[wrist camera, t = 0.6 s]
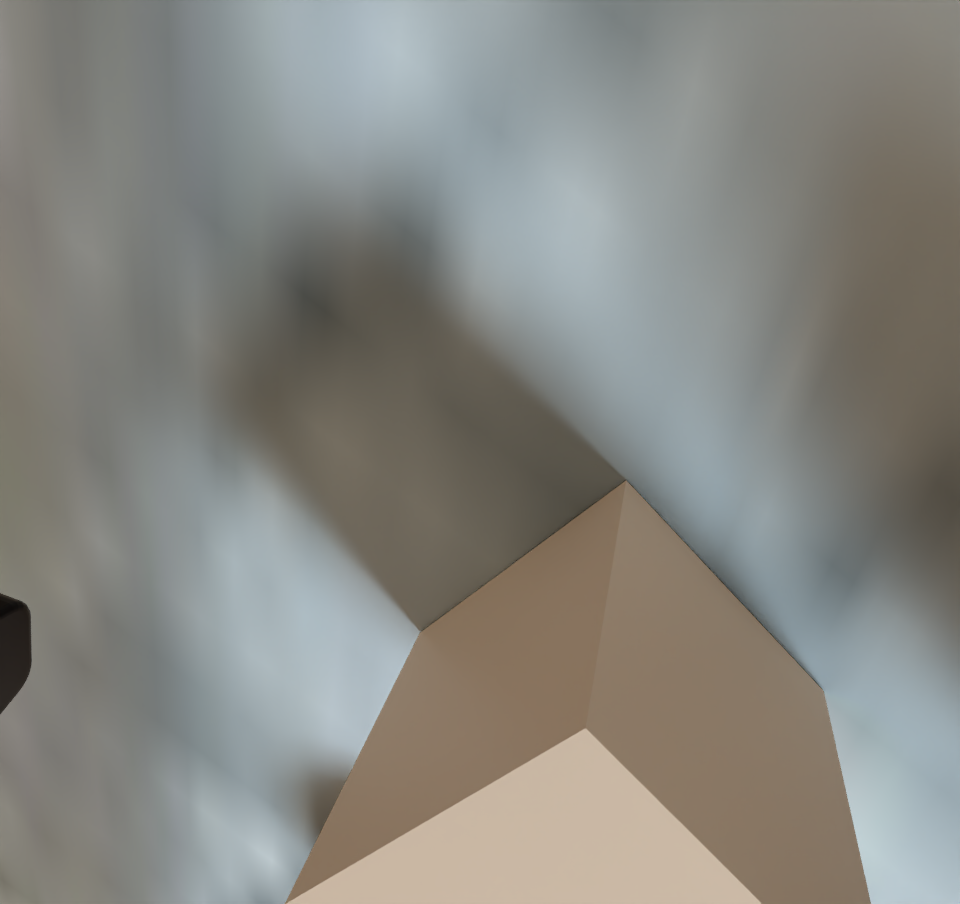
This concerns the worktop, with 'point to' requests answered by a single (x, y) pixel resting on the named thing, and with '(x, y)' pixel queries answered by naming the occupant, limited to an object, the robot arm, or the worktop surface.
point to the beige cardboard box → (595, 745)
